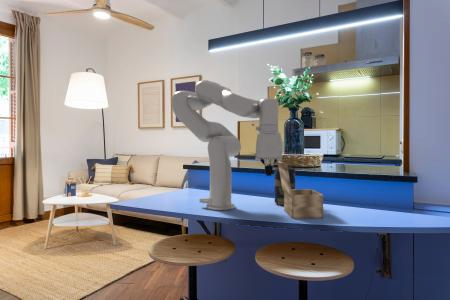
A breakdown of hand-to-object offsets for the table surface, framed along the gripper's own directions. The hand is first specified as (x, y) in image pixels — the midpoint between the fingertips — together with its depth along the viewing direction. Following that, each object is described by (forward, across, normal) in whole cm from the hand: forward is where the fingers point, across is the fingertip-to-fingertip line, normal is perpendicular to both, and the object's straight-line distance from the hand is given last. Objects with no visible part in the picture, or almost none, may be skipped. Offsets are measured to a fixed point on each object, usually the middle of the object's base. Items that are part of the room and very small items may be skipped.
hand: (268, 175), depth 130 cm
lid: (+1, +7, 0) cm, 7 cm away
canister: (+16, +11, +20) cm, 28 cm away
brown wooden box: (+16, +14, 0) cm, 21 cm away
